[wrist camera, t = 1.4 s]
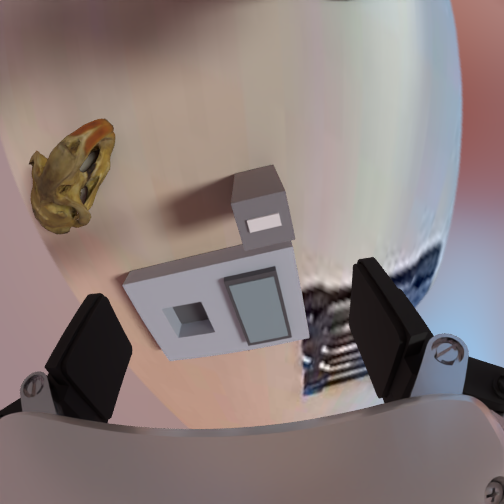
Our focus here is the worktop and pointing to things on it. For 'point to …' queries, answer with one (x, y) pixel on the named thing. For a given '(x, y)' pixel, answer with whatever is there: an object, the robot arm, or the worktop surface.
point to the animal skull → (70, 177)
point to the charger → (261, 208)
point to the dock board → (221, 301)
